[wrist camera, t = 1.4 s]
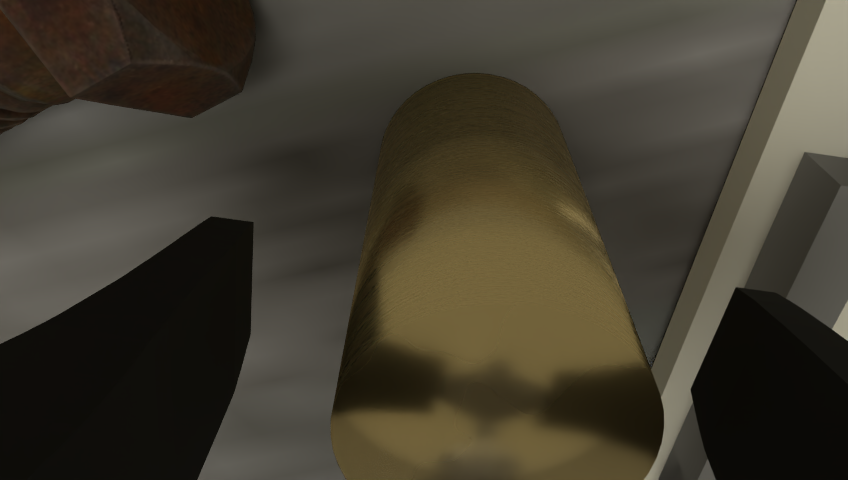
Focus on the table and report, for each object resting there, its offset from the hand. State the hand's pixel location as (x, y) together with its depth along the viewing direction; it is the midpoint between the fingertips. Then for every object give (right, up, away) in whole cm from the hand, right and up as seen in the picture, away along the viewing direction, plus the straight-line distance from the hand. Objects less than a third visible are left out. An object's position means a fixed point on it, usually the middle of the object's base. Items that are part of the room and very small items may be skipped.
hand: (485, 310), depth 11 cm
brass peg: (0, +3, +5) cm, 6 cm away
